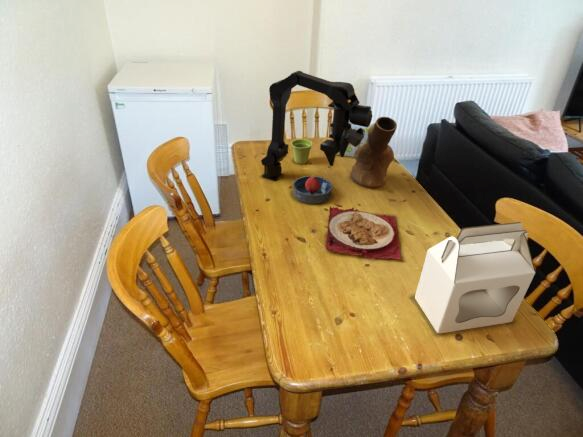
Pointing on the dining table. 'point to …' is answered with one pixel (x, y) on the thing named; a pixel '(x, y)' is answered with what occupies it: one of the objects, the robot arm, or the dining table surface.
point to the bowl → (306, 196)
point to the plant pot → (301, 150)
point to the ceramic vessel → (374, 154)
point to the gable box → (476, 277)
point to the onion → (312, 185)
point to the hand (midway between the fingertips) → (336, 161)
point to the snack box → (350, 148)
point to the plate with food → (362, 234)
